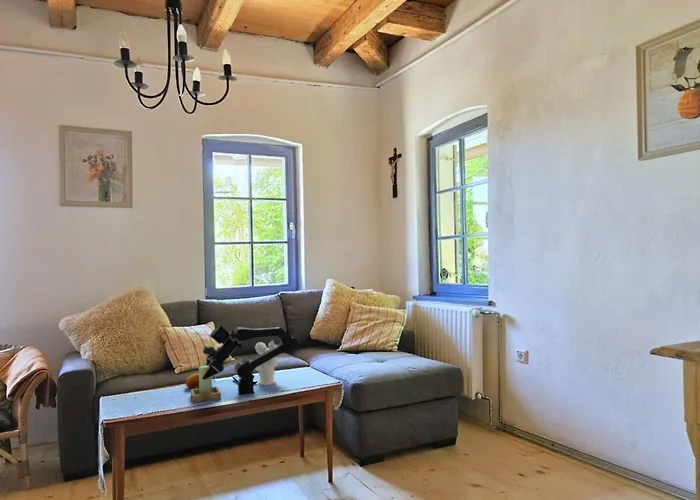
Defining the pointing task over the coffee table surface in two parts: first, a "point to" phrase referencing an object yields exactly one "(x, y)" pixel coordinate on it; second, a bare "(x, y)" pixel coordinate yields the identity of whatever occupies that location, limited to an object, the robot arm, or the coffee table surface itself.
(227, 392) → the coffee table surface
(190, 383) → the fruit
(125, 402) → the coffee table surface
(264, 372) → the cherub figurine
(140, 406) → the coffee table surface
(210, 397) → the tray
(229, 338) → the robot arm
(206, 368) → the green rounded tapered cylinder
